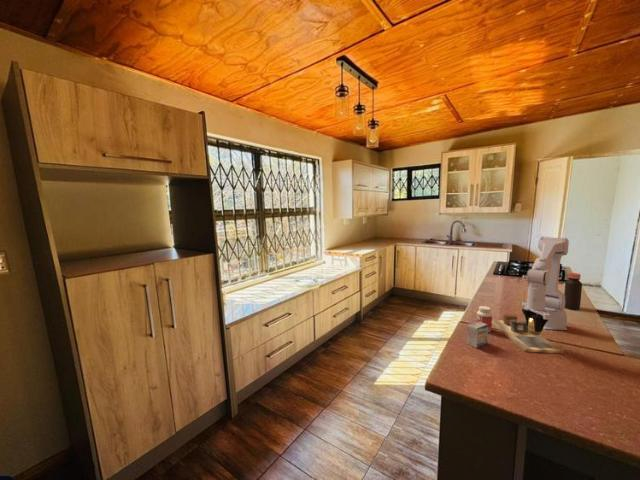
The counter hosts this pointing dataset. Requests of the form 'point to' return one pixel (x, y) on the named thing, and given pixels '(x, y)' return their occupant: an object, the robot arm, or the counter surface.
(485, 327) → the medicine box
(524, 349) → the clamp jig
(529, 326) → the cylinder
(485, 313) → the pill bottle
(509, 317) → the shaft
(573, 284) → the vinegar
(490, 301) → the counter surface
